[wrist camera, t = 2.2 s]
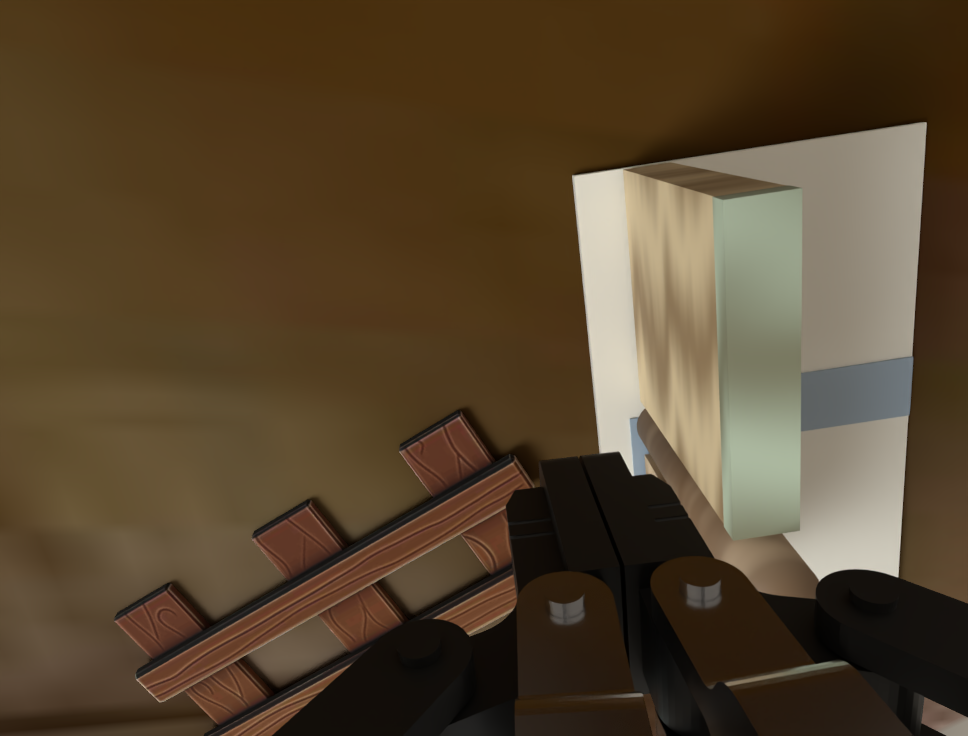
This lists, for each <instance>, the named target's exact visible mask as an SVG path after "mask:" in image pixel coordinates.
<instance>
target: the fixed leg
mask: <svg viewBox="0 0 968 736" xmlns="http://www.w3.org/2000/svg"><path fill="white" fill-rule="evenodd" d="M637 432H638V435H639V437H640V438H641V440H642V442H643V443H644V445H645V447H646V448H647V450H648V452H649V453H650V454H645V469H646V474H653V475H654V476H656V477H657V478H659V479H660V480H662V481H664V482H665V483H667V484H668V485H670V486H671V487H672V489H673V490H674V492H675V494H676V495H677V497H678V499H679V500H680V503H681V505H683V507H684V509H685V510H686V512H687V513H688V517H689V518H691V520H692V522H693V523H694V525H695V527H696V528H697V530H698V532H699V533H700V535H701V536H702V538H703V540H704V541H705V543H706V545H707V546H708V548H709V550H710V551H711V553H712V555H713V556H714V558H715V559H718V560H722V561H724V562H727V563H729V564H731V565H733V566H735V567H736V568H738V569H739V570H740V571H742V572H743V573H744V574H745V575H746V576H747V578H748V579H749V580H750V582H751V583H752V584H753V585H754V587H755V588H756V589H757V590H758V591H759V592H763V593H767V594H772V595H779V596H789V597H800V598H810V599H815V594H816V587H817V584H818V583H819V580H818V578H817V576H816V575H815V574H814V573H813V571H812V570H811V569H810V568H809V566H808V565H807V564H806V563H805V561H804V560H803V559H802V558H801V556H800V555H799V554H798V553H797V551H796V550H795V549H794V548H793V546H792V545H791V544H790V543H789V541H788V540H787V539H786V538H785V536H784V535H783V534H775V535H768V536H762V537H755V538H748V539H742V540H735V541H733V540H732V538H731V537H730V535H729V534H728V532H727V531H726V529H725V528H724V524H723V522H722V521H721V519H720V518H719V516H718V515H717V513H716V512H715V511H714V509H713V508H712V506H711V505H710V503H709V502H708V500H707V499H706V497H705V496H704V494H703V493H702V491H701V490H700V488H699V487H698V485H697V484H696V482H695V481H694V479H693V478H692V476H691V475H690V474H689V472H688V471H687V469H686V468H685V466H684V465H683V463H682V462H681V460H680V459H679V457H678V456H677V454H676V453H675V451H674V450H673V448H672V447H671V445H670V444H669V442H668V441H667V440H666V438H665V437H664V435H663V434H662V432H661V431H660V429H659V428H658V426H657V425H656V423H655V422H654V420H653V419H652V417H651V416H650V414H649V413H648V411H647V410H646V408H645V409H644V410H643V411H642V413H641V414H640V416H639V418H638V421H637Z"/></svg>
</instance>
